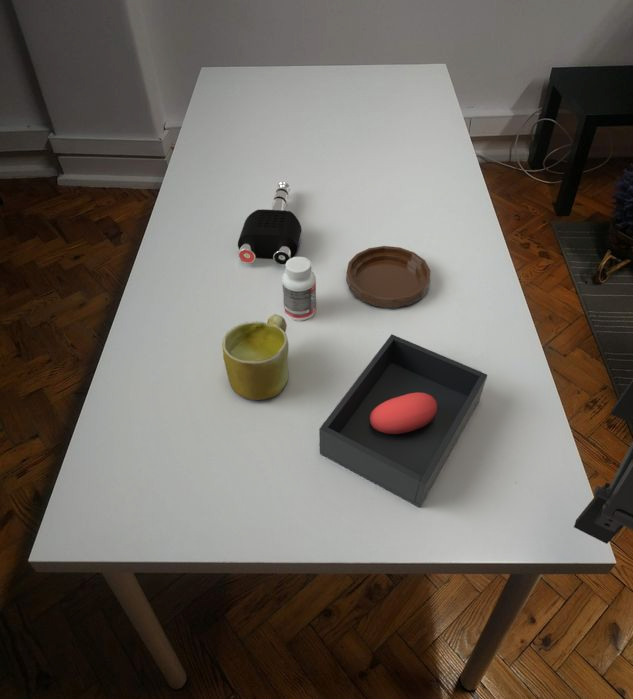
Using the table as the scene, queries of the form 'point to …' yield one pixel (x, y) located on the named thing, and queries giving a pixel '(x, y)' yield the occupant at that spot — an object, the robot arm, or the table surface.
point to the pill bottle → (299, 289)
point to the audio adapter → (271, 231)
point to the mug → (257, 358)
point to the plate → (388, 276)
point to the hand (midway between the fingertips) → (609, 470)
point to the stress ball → (404, 413)
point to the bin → (412, 447)
